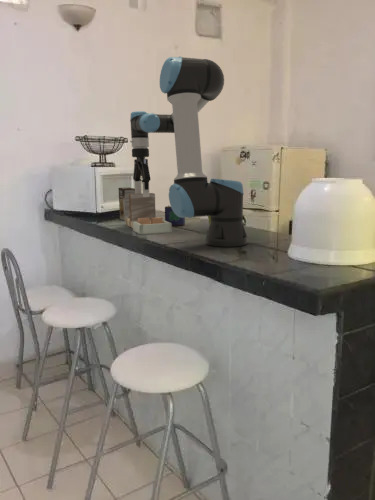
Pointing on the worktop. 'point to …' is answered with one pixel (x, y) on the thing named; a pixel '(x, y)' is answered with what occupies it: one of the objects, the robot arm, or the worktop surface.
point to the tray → (152, 228)
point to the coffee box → (124, 202)
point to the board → (130, 222)
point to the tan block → (141, 206)
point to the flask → (173, 217)
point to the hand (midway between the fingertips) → (142, 196)
